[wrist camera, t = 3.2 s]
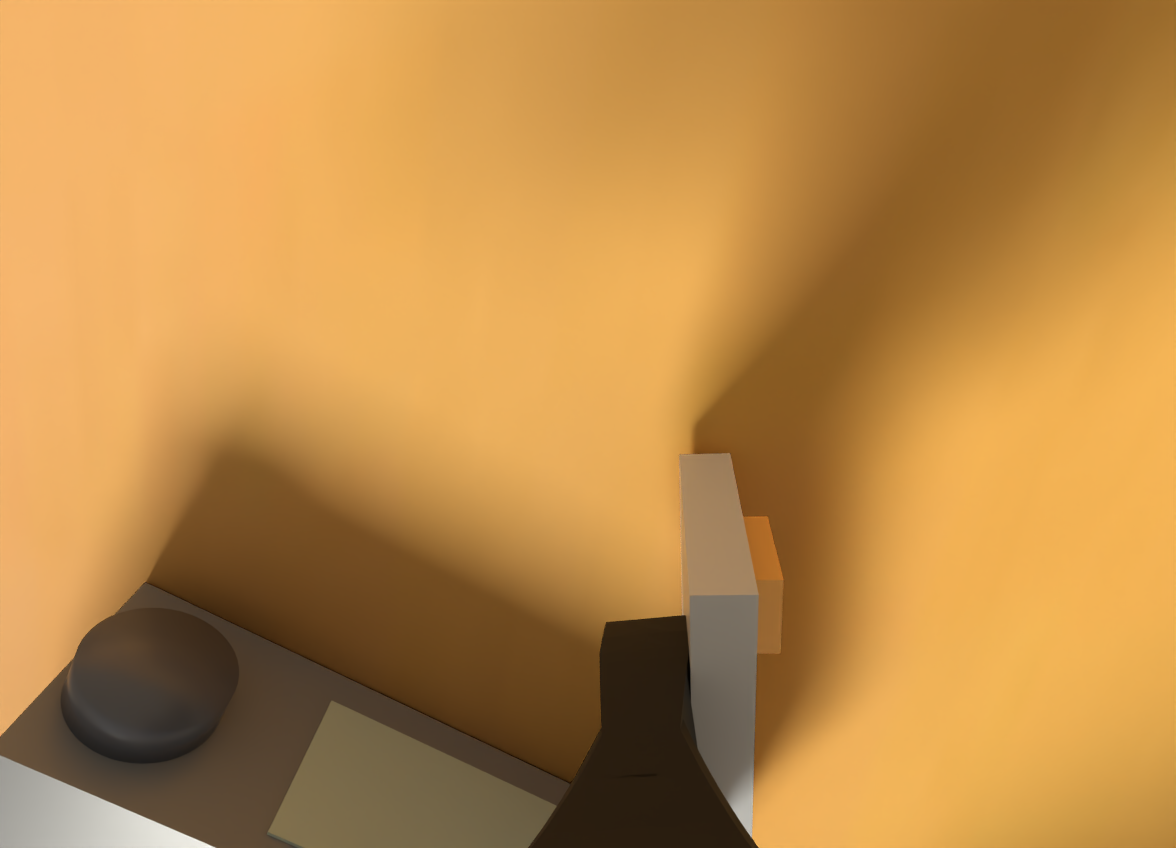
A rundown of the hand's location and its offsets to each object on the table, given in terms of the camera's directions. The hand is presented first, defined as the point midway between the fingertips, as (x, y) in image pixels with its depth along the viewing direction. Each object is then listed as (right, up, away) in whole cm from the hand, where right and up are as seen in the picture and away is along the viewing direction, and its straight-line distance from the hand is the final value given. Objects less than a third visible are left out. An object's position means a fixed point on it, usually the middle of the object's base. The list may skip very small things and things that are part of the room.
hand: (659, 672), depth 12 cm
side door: (+1, -1, +3) cm, 3 cm away
